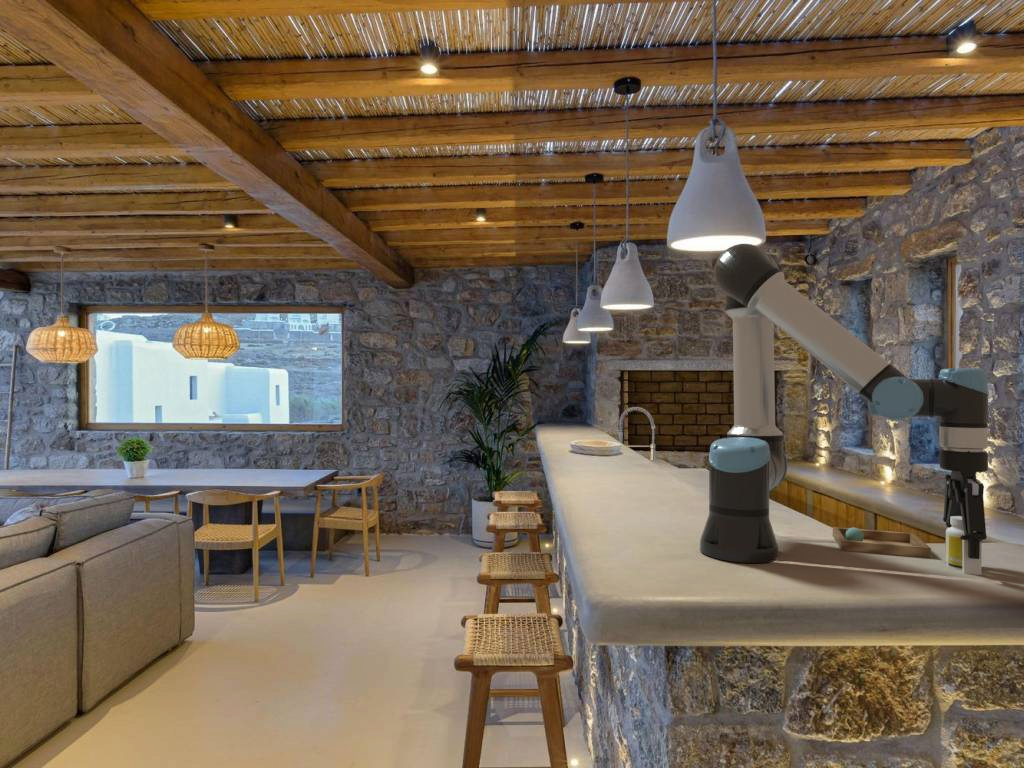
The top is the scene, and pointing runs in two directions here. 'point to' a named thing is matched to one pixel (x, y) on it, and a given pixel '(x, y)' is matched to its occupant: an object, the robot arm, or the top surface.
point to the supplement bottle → (954, 543)
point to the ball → (854, 534)
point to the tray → (883, 543)
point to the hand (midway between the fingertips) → (963, 568)
